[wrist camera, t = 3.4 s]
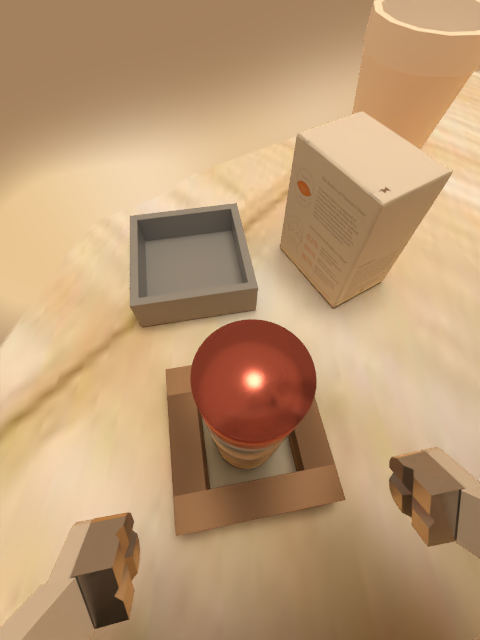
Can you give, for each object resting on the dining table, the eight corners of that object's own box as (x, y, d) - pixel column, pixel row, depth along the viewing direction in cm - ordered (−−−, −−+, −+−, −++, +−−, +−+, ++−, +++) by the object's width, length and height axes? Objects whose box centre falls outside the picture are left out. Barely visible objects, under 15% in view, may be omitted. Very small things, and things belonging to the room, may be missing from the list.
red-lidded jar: (268, 400, 21) (297, 311, 11) (282, 461, 19) (334, 427, 9) (211, 410, 21) (184, 328, 10) (220, 474, 19) (197, 452, 9)
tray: (236, 229, 29) (236, 203, 27) (255, 309, 25) (257, 287, 22) (140, 242, 29) (130, 216, 26) (142, 327, 24) (129, 306, 21)
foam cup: (351, 137, 37) (399, -19, 26) (426, 163, 35) (517, 3, 23) (314, 178, 33) (353, 16, 22) (396, 211, 31) (488, 47, 19)
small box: (382, 282, 26) (459, 171, 17) (332, 310, 25) (385, 205, 16) (325, 225, 30) (363, 107, 21) (277, 247, 28) (296, 130, 19)
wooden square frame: (293, 361, 23) (299, 347, 21) (332, 498, 18) (345, 499, 16) (173, 381, 22) (165, 369, 20) (183, 530, 18) (175, 536, 15)
